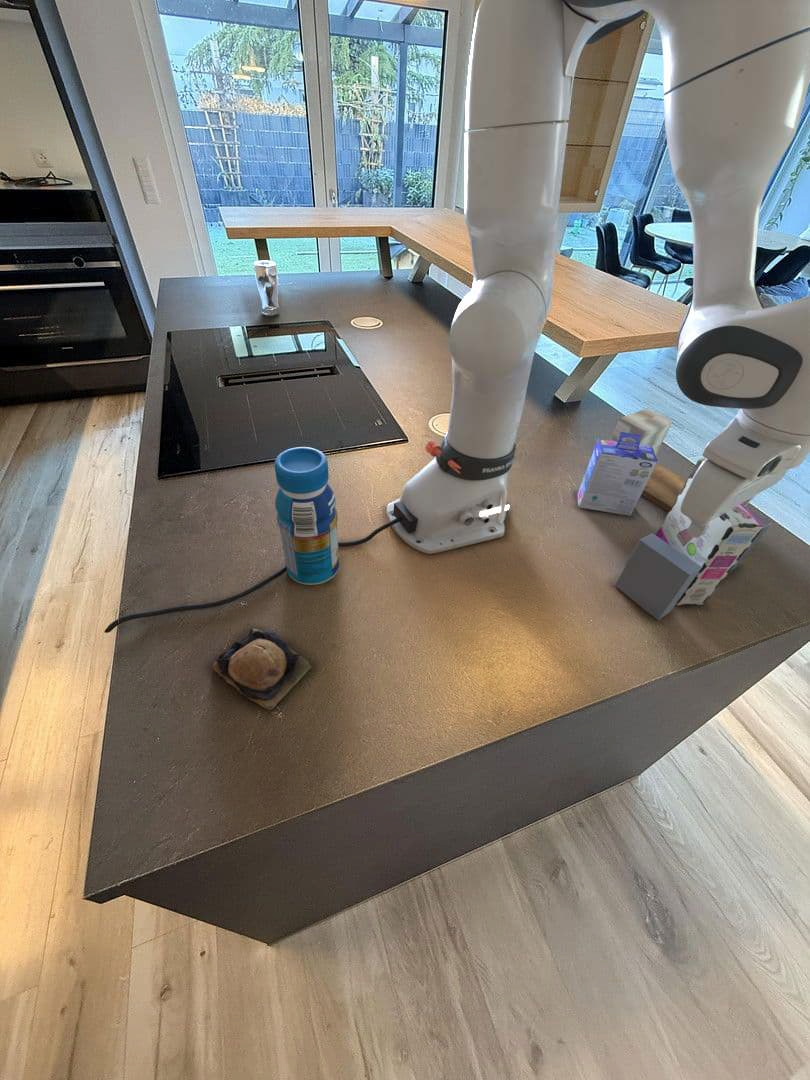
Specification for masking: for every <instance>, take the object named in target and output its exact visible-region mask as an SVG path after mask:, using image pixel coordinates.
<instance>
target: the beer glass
mask: <svg viewBox="0 0 810 1080" xmlns="http://www.w3.org/2000/svg"><path fill="white" fill-rule="evenodd" d="M253 265H254V276H255V282H256V287H257V291H258V293H259V296H260V300H261V309H262V308H263V309H266V310H273V309H277V308H278V307H279V308H280V306H279V305H280V304H279V299H278V298H279V277H278V270H277V267H276V263H275V262H274V261H272V260H271V261H270V260H258V261H255V262H253ZM261 314H262V315H264V316H266V317H274V316H273V315H272V314H270V313H268V314H267V313H264V312H262V311H261ZM269 314H270V315H269Z"/></svg>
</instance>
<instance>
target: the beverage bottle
mask: <svg viewBox="0 0 810 1080" xmlns="http://www.w3.org/2000/svg"><path fill="white" fill-rule="evenodd" d="M274 473H275V477H276V482H277V485H278V487H279V488H278V490H277V492H276V496H275V499H274V505H275V510H276V512H277V513H276V524H277V527H278V529H279V533H280V537H281V543H282V548H283V553H284V554H283V555H284V558H285V566H286V568H287V571H286V572H287V574H288V575H289V577H290V578H291V579H292V580H293V581H294V582H296V583H298V584H301V585H305V586H317V585H321V584H325V583H327V582H328V581H330V580H331V579H333V577H335V575H336V574H337V573H338V571H339V568H340V556H339V554H340V553H339V547H338V542H339V538H338V537H339V535H338V533H339V532H338V518H339V515H338V509H337V507H336V504H337V498H336V495H335V493H334V491H333V489H332V487H331V486H330V485H329V483H328V482H329V477H330V475H329V463H328V459H327V457H326V455H325V453H323V452H322V451H320V450H319V449H316V448H313V447H307V446H299V447H293V448H289V449H286V450H284V451H282V452H281V453H279V454H278V455H277V456H276V458H275V460H274Z"/></svg>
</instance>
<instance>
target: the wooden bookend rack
mask: <svg viewBox="0 0 810 1080" xmlns="http://www.w3.org/2000/svg"><path fill="white" fill-rule="evenodd" d="M673 423H674V420H672V419H670V418H669V417H667V416H664V415H663V414H660V413H658V412H656V411H654V410H652V409H651V408H644V409H641V410H639V411H635V412H633V413H629V414H627V415H624V416H621V417H619V418H618V422H617V423H616V426H615V429H614V431H613V434H612V436H611V438H610V441H613V442H617V441H618V438H619V435H620V432H625V433H631V434H638V435H641V440H640V445H643V446H651V447H652V448H653V450H654V452H655V455H656V456H657V455H658V453H659V450H660V448H661V447H662V444H663V442H664V440H665V438H666V437H667V434H668V432H669V431H670V428H671V427H672V424H673ZM622 441H624V442H630V443H636V440H635V439H633V438H631V437H627V438H622ZM706 459H707V458H705V457H704V456H703V457H702V458H700V459H697V461H696V463H695V465H694V467H693V469H692V471H691V472H690V474H689V475H688V477H687V479H685V478H683V477H682V476H680V475H678V474H676V473H675V472H673V471H672V470H669V469H668V468H666V467H664V466H663V465H661V464H659V463H657V464H656V466H655V468H654V470H653V472H652V474H651V476H650V478H649V480H648V481H647V483H646V485H645V487H644V490H643V492H642V494H641V496H643V497H644V498H646V499H648V500H649V501H651V502H653V503H654V504H656V505H657V506H659V507H660V508H663V509H664V510H665V511H667V512H668V513H669V512H670V510H671V508H672V506H673V505H674V503H675V501H676V500H677V498H678V496H679V494H680V493H681V491H682V489H683V488H684V486H685V484H686V482H687V481H688V479H689V478H693V477H694V475H695V473H696V471H697V470H698V468H699V467H700V465H701V464H702V463H703V462H704V461H705V460H706Z"/></svg>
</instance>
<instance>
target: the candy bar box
mask: <svg viewBox="0 0 810 1080" xmlns="http://www.w3.org/2000/svg"><path fill="white" fill-rule="evenodd" d="M687 479H688V478H687ZM692 479H693V478H689V479H688V481H687V482H686V484H685V486H684V488H683V489H682V491H681V493H680V494H679V496H678V498H677V500H676V501H675V503H674V505H673V506H672V508H671V510H670V512H668V513H667V515H666V516H665V518H664V520H663V522H662V523H661V525H660V527H659V529H658V531H657V532H656V534H655V535H656V536H657V537H659V538H660V539H662V540H663V541H665V542H666V543H668V544H669V545H670V546H672V547H673V548H675V549H676V550H678V551H679V552H681V553H682V554H684V555H685V556H687V557H688V558H689V559H691V560H692V561H694V562H695V563H697V564H698V565H700V566H701V567H702V568H701V570H700V571H699V572H698V574H697V575H696V577H695V578H694V579H693V581H692V582H691V584H690V585H689V586H688V588H687V589H686V590H685V592H684V593H683V595H682V596H681V597H680V599H679V600H678V602H677V603H676V604H675V606H676V607H677V606H678V607H679V606H703V605H705V603H706V602H707V601H708V599H709V598H710V597H711V596H712V594H713V593H714V592H715V591H716V589H717V588H718V587H719V585H721V583H722V581H723V580H724V579H725V578H726V577H727V576H728V574H729V573H730V572H731V571H730V570H731V569H732V567H733V566H734V565H735V564H736V562H737V561H738V560H739V559H740V557H741V556H742V555H743V554H744V552H745V551H746V550H747V548H748V547H749V546H750V545H751V543H752V542H753V541H754V540H755V538H756V537H757V536H758V534H759V533H760V532H761V531H762V529H763V528H764V527H765V526H764V525H763V524H762V523H761V522H760V521H759V520H758V519H757V518H756V517H755V516H754V515H753V514H752V513H751V512H750V511H749V510H748V509H749V508H748V507H747V506H744V505H743V504H740V505H738V506H737V507H735V508H733V509H731V510H730V511H728V512H726V513H724V514H723V515H721V516H719V517H718V518H716V519H714V520H712V521H711V522H709V524H708V526H709V528H708V529H707V531H706V532H705V534H704V535H702V536H700V537H699V538H695V537H693V536H692V535H690V534H688V532H687V529H688V528H689V526H690V524H691V519H690V518H688V517H687V516H685V515H684V514H682V513H681V511H680V504H681V501H682V499H683V497H684V495H685V493H686V490H687V488H688V486H689V484H690V482H691V480H692ZM747 508H748V509H747ZM729 571H730V572H729Z"/></svg>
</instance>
